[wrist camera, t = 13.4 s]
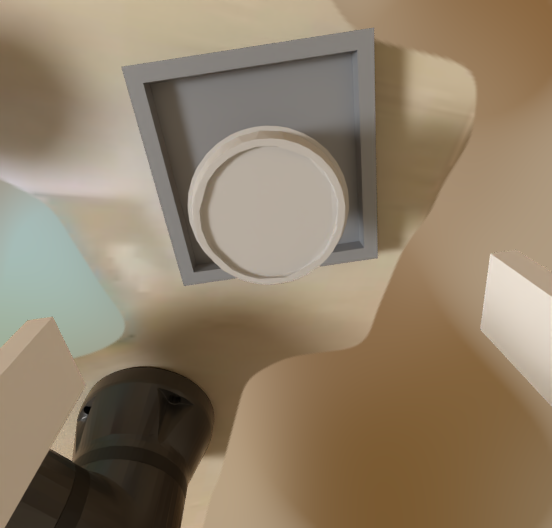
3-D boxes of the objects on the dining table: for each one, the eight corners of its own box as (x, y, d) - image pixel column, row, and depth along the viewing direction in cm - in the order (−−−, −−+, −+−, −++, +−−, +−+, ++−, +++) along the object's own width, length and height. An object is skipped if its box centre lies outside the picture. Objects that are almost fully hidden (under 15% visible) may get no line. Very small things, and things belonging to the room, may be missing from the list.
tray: (370, 247, 36) (377, 258, 33) (188, 273, 36) (183, 285, 34) (364, 32, 28) (373, 27, 26) (132, 68, 28) (121, 66, 26)
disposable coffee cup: (215, 227, 33) (195, 295, 22) (203, 115, 29) (171, 131, 18) (319, 223, 34) (349, 287, 23) (321, 110, 29) (360, 124, 19)
